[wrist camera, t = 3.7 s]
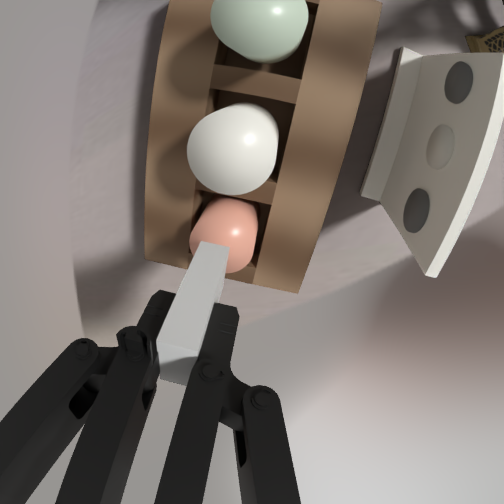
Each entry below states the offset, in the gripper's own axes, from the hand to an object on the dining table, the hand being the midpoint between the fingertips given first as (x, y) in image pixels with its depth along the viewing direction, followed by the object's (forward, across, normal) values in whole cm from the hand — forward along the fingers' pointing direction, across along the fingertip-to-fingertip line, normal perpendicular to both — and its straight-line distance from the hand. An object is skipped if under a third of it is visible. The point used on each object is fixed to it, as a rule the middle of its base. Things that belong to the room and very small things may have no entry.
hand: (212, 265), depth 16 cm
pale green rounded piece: (+6, 0, +12) cm, 14 cm away
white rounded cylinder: (+5, 0, +6) cm, 8 cm away
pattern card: (+9, +11, +9) cm, 17 cm away
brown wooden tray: (+9, 0, +6) cm, 11 cm away
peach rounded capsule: (+8, 0, -1) cm, 8 cm away
